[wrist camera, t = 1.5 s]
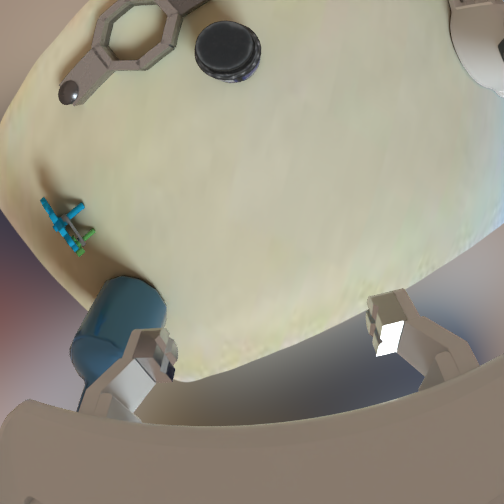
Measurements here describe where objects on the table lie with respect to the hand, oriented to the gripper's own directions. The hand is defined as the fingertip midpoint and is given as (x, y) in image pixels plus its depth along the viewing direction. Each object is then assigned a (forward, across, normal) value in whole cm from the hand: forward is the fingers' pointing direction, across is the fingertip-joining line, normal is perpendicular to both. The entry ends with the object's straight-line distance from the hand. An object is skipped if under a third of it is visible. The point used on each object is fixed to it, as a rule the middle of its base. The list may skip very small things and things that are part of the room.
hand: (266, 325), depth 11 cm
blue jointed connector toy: (+27, +30, +1) cm, 41 cm away
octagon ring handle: (+27, +11, -20) cm, 36 cm away
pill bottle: (+28, 0, -12) cm, 30 cm away
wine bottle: (+27, +26, +20) cm, 43 cm away
